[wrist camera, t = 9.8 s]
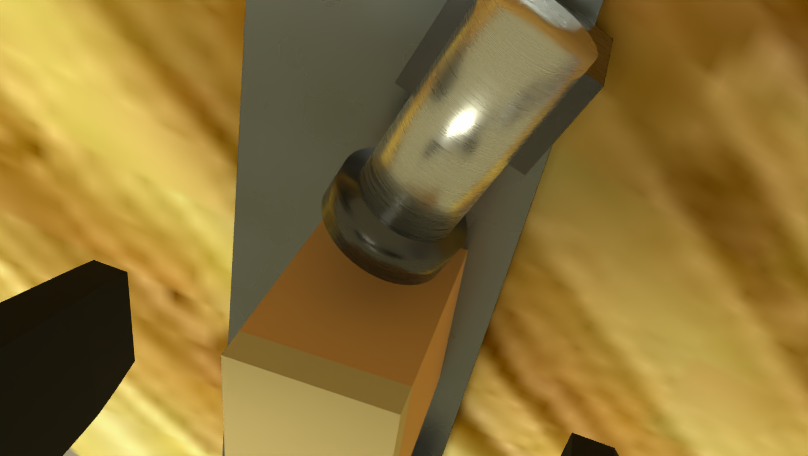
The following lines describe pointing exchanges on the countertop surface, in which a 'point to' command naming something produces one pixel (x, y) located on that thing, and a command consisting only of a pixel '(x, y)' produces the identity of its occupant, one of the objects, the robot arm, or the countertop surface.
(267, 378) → the block
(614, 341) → the countertop surface
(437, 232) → the shaft
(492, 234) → the base plate
